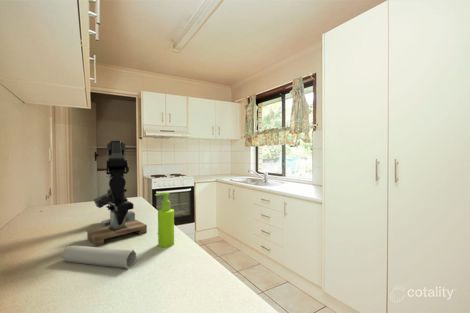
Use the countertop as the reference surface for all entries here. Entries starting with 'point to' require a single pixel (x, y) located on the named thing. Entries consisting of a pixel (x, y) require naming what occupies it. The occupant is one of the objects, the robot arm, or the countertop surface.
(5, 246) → the countertop surface
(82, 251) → the tube
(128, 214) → the medium pin
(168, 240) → the soap dispenser
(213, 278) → the countertop surface
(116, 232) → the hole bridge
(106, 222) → the grey metal cube
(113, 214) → the long pin
